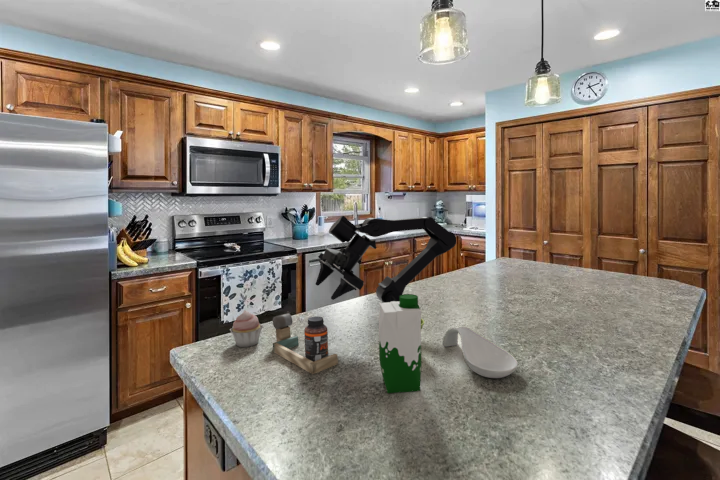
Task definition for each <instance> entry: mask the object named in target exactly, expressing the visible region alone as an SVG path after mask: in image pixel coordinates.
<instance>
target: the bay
mask: <svg viewBox="0 0 720 480" xmlns="http://www.w3.org/2000/svg"><path fill="white" fill-rule="evenodd" d="M296 346H299V336H297V335H294V336H292V337H291V338H288V339H284V340H281V341H278V342H276V341H275V342H272V353H274V354H276V355H278V356H280V357H281V358H283V359H285V360H286V361H288V362H290V363H292V364H294V365H296V366H297V367H299V368H301V369H303V370H304V371H306V372H307V373H308V374H309V373H310V374H312V375H315V374H317V373H319V372H322V371H324V370H325V371H326V370H327V369H329V368H332V367H335V366H337V365H339V361H338V358H339V356H338V354H337V353H333V354H330V355H328V356H327V357H325V358H322V359H320V360H317V361H314V362H313V361H311V360H309V359H307V358H305V356H303V355H301V354H299V353H297V352H296V351H293V350H291V348H294V347H296Z"/></svg>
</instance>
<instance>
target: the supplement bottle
mask: <svg viewBox="0 0 720 480" xmlns="http://www.w3.org/2000/svg"><path fill="white" fill-rule="evenodd" d="M324 321H325V320H324V317H322V316H318V315H317V316H311V317H308V319H307V325H306V326H305V327H304V352H305V354H304V355H305V356H304V357H305V358H307V359H309V360H311V361H313V362H314V361H317V360H320V359H322V358H325V357H327V356H329V342H328V340H329V336H328V327H327V325H325V323H324Z"/></svg>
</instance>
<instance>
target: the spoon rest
mask: <svg viewBox="0 0 720 480" xmlns="http://www.w3.org/2000/svg"><path fill="white" fill-rule="evenodd" d="M459 336H460V340H461V341H460V342H461V350H462V354H463V355H462V356H463V358H464V361H465V363H466V364H467V366H468V367H469V369H471V371H473V372H475V373H476V375H477V374H478V375H479V376H482V377H484V378H490V379H501V378H505V377H507V376H509V375H511V374H513V373H514V372H515V371H516V370H517V368H518V366H519V363H518V361H517V358H516V357H514V355H512V354H511V352H510V353H509V352H508V351H507V350H505V349H503V348H502V347H500V346H498V345H497V344H495V343H494V342H492V341H490V340H489V339H487V338H485V337H484V336H482V335H481V334H479V333H477V332H476V331H474V330H472V329H471V328H469V327H467V326H459V327H451V328H449V329H448V330H447V331H446V332H445V333H444V336H443V337H442V338H443V339H442V344H441V345H442V347H452V346H457V345H458V344H459V343H458V342H459V341H458V338H459Z"/></svg>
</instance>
